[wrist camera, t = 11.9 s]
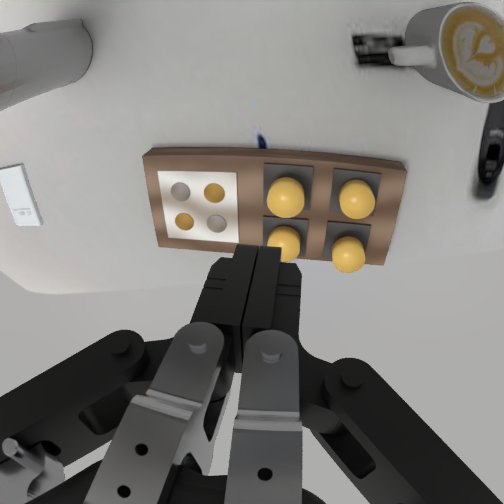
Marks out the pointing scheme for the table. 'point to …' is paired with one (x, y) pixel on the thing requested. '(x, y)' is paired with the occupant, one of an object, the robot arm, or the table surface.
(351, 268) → the button
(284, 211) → the button
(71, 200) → the table surface
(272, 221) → the button board
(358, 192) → the button
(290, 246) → the button
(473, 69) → the coffee mug
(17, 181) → the external hard drive
